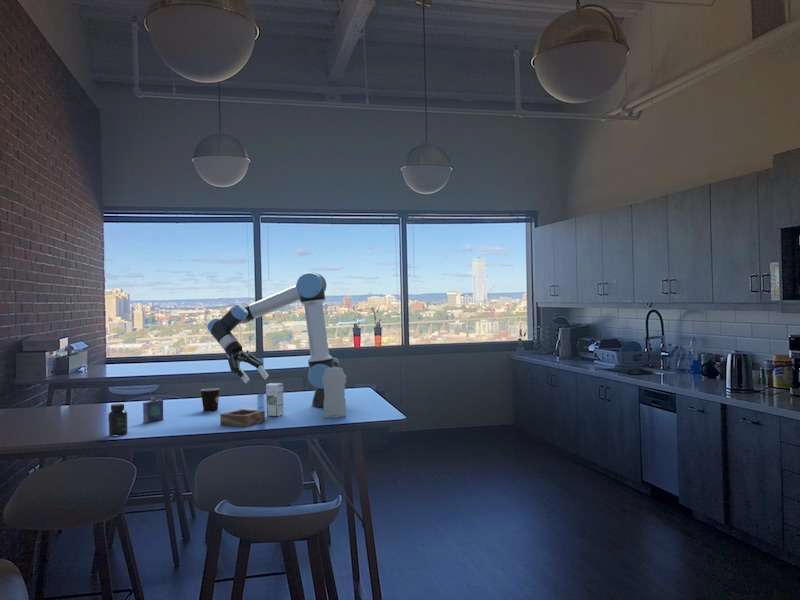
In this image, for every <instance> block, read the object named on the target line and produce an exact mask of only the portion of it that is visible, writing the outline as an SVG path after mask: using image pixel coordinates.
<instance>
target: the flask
mask: <svg viewBox="0 0 800 600" xmlns="http://www.w3.org/2000/svg"><path fill="white" fill-rule="evenodd" d="M142 414H143V417H142V418H143V421H142V422H143V424H149V423H148V422H150V423H154V422H153V421H155V422H159V421H158V420H160V421H163V420H164V400H163V399H159V398H156V399H155V397H154V396H151V397H150V400H149V401H144V402H143V403H142Z"/></svg>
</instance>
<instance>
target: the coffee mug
mask: <svg viewBox="0 0 800 600" xmlns="http://www.w3.org/2000/svg"><path fill="white" fill-rule="evenodd" d="M200 394H201V401H202V408H203V412H205V411H212V412H216V410H217V411H218V410H219V399H220V388H218V387H211V388H202V389H200Z"/></svg>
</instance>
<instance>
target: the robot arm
mask: <svg viewBox="0 0 800 600" xmlns="http://www.w3.org/2000/svg"><path fill="white" fill-rule="evenodd" d="M326 289H327V282H326V279H325V277H324V276H323V275H322V274H320V273H317V272H311V271H310V272H309V271H308V272H305V273H303V274H301V275H300V276H299V278H298V279H297V281H296V284H295V285H293V286H291V287H288V288H286V289H284V290H281V291H280V292H277V293H273V294H271V295H269V296H267V297H264V298H262V299H260V300H258V301H255V302H253V303H250V304H247V305H245V306H244V305H242V304H240V303H236V304H235V305H234V306H232V307H231V308H230V310H228V311H227V312H226V313H225V314H224V315H223V316H222V318H220V317H215V318H213V319H212V320H210V321H209V322H208V323H207V325H206V326H207V327H206V328H207V330H208V331H209V333H210V335H211V336H212V337H213V338H214V339H215V341H216V342H217V343H218V345H219V346H220V347H221V348H222V350H224V352H225V353H226V354H227V355H225V358H226V359H227V362H228V366H229V369H230V372H232V373H233V374H235V375H236V374H237V375H238V377H239V378H240V379H241V380H242V381H243V382H244V383H245V384H246V385H247V384H248V382H249V381H250V377H249V376H248V375H247V374H246V372H245V371H244V370H243V368H241V367H240V365H241V363H243V362H244V363H247V364H249V365H251V366H253V367H254V368H256V370H257V372H258V373H259V374H260V376H261V377H262V378H263V380H267V378H269V376H270V375H269V374H268V372H267V371H266V369H265V368H264V367H263V365H264V362H263V361H262V360H260V359H259V358H258V357H256V356H255V355H254V354H252V353H251V351H249V350H246V351H244V350H243V346H242V344H241V343H240V342H239V341H238V339H237V337H235V335H234V334H233V333H232V331H233V330H234V329H235V328H236V327H237V326H239V325H242V324H247V323H250V322H251V321H253V320H255V319H258V318H260V317H263V316H265V315H268V314H270V313H273V312H275V311H277V310H280V309H283V308H284V307H287V306H290V305H292V304H295V303H297V302H298V301H299V302H300V304H301V305H303V306H304V314H305V321H306V328H307V329H306V330H307V336H308V345H309V353H310V357H309V359H308V360H307V364H308V372H307V374H308V375H307V378H308V382H309V383H310V385H311V386H312V387H314V388H315V391H314V395H313V397H312V403H311V404H312V405H311V406H313V407H316V408H324V403H323V402H324V398H325V397H324V385H323V384H322V376H323V375H324V373H325V369H328V368H332V367H337V368H340V360H339V359H338V358H337V357H333V356H332V355H331V354H330V350H329V343H328V336H327V327H326V319H325V318H326V317H325V312H324V311H325V310H324V305H323V304H324V302H325V301H326V295H325V294H326V293H325V292H326Z"/></svg>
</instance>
